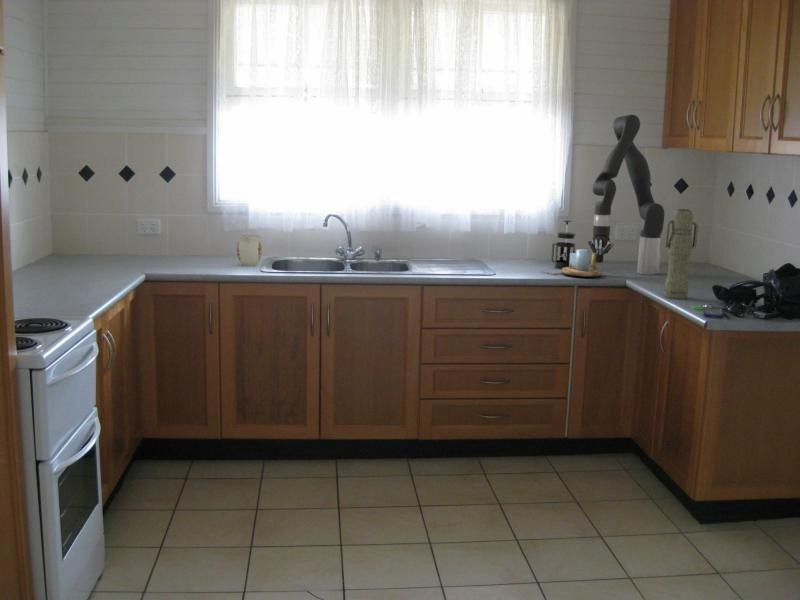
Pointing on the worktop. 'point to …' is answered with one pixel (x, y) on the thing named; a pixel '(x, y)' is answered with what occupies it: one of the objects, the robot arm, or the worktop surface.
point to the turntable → (589, 272)
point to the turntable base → (582, 276)
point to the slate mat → (553, 272)
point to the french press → (561, 262)
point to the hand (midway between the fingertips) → (599, 262)
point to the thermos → (679, 253)
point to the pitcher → (249, 249)
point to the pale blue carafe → (580, 259)
